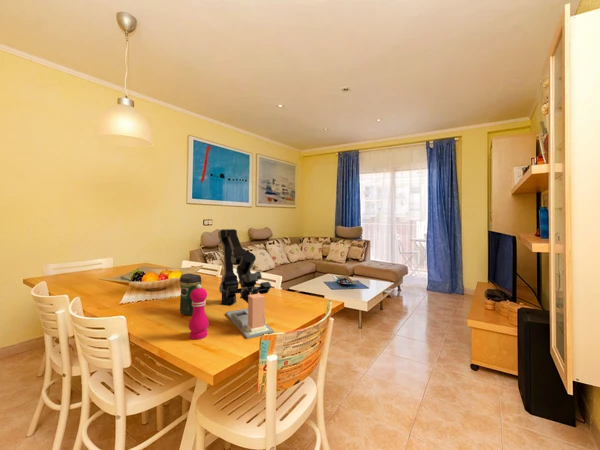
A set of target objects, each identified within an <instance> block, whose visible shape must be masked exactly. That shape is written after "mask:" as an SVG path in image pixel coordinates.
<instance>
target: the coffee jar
mask: <svg viewBox="0 0 600 450" xmlns="http://www.w3.org/2000/svg"><path fill="white" fill-rule="evenodd" d="M201 276H202V275H200V274H196V273H195V274H194V273H182V274H181V275H180V277H179V285H180V286H179V287H180V302H179V313H180V314H183V315H184V316H192V314H193V306H192V301H193V300H192V299H191V298H190V295H191V292H192V291H193V290H194V289H196V286H197V285H198V284H200V285H201V286H202V277H201Z"/></svg>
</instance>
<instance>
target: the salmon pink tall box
mask: <svg viewBox="0 0 600 450" xmlns="http://www.w3.org/2000/svg"><path fill="white" fill-rule="evenodd" d="M265 298H266V297H265V296H264V294H260V293H258V294H253V295H251V294H250V295H248V303H247V308H248V324H247V326H246V327H247V328H248V329H249V330H250V331H251V332H255V331H260V330H264V329H266V326H265V325H264V318H265V308H266V307H265V305H266V304H265V303H266V301H265Z"/></svg>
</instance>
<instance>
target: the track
mask: <svg viewBox="0 0 600 450" xmlns="http://www.w3.org/2000/svg"><path fill="white" fill-rule="evenodd" d="M225 316H227V317H228V319H230V321H231V322H232V323H233V324H234V325H235V326H236V328H237V329H238V330H239V331H240V333H241V334H243V336H244V337H245V338H246V339H247V340H249V339H253V338H258V337H262V336H261V335H262V334H267V333H271V334H274V333H275V331H274V329H273V328H272V327H270V326H269V325H268V324H267V323H266V318H265V317H264V325H265V326H266V329H264V330H260V331H255V332H251V331H250V330H249V329H248V328H247V327H246V326H247V324H248V307H247V308H242V309H241V308H240V309H236V310H229V311H226V312H225ZM267 335H268V334H267Z"/></svg>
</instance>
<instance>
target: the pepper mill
mask: <svg viewBox="0 0 600 450" xmlns="http://www.w3.org/2000/svg"><path fill="white" fill-rule="evenodd" d="M207 297H208V292H207V290H206V289H205V288H203V287H202V284H201V285H200V284H198V285H197V286H196V289H194V290H193V291H192V292H191V295H190V298H191V299H192V300H193V301H192V306H193V314H192V315H191V317H190V319H189V322H188V329H189V330H190V331H189V338H190V339H192V340H202V339H204V338H206V337H207V336H208V328H209V324H210V323H209V319H208V317H207V314H206V311H205V306H206V304H207V303H206V302H207V301H206V299H207Z"/></svg>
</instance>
